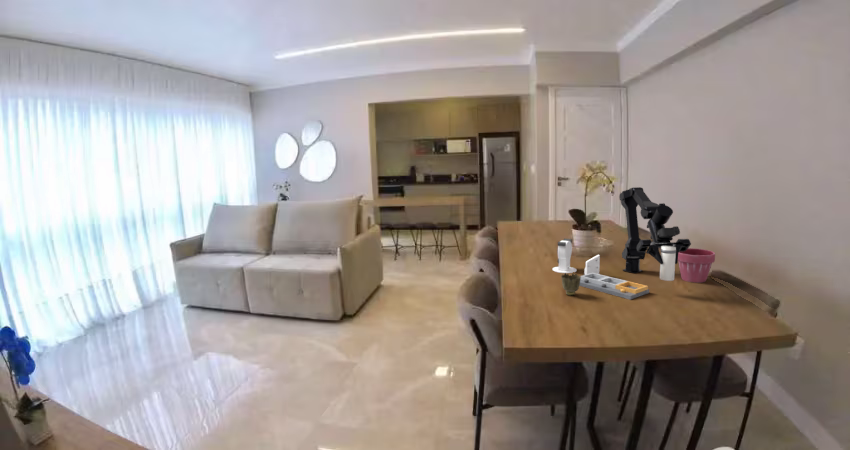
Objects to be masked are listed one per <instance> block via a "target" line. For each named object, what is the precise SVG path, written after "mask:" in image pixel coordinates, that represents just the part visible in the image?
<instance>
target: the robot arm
mask: <svg viewBox="0 0 850 450" xmlns="http://www.w3.org/2000/svg"><path fill="white" fill-rule="evenodd" d="M618 197H619V201H620V205H621V206H622V207H623V208H624V209H625V218H626V229H627V241H625V244H624V248H623V251H622V253H621V258H623V259H624V260H625V268H624V269H622V272H623V271H624V272H628V273H633V274H637V273H640V272H643V269H640V266H641V264H640V263H641V260H645V258H646V254H649V255H650V256H651V257H652V258H653V259H654V260H656V261H657V262H658V263H659V265H660V264H663V260H662V258H661V251H660V250H659V249H661V246H674V247H676V257H675V265H677V264H679V263H678V253H679V252H684V251H686V250H687V249H688V248H690V246H691V245H692V242H691V239H689V238H677V240H676V241H675V242H671V241H673V240H674V239H673V237H676V236H678V235H680V234H681V231H680V230H681V229H680V227H679V226H677V225H676V226H673V227H666V226H665V224H667V223H668V222H669V220H670V218H671V217H672V215H673V213H674V211H673V209H672V208H671V207H670V206H668V205H666V204H665V203H664V202H663V203H659V204H658V203H656V202H653V201H652V200H651V199H650V198H649V197H648V195H647V194H646V192H645V190H644V188H643V187H639V186H638V187H637V186H635V187H631V188H629V189H625V190H623V191H622V192H620V193H619V196H618ZM638 206H639V207H640V212H639V213H640V216H641V217H642V219H643V220H648V221H647V225H646V228H647V229H648V230H649V233H650V239H649V238H648V239H641V237H640V231H639V223H638V222H639V221H638V212H637V210H638V209H637V207H638Z"/></svg>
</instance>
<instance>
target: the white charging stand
mask: <svg viewBox="0 0 850 450" xmlns="http://www.w3.org/2000/svg"><path fill="white" fill-rule="evenodd" d="M572 241H573V239H572V238H563V240H560V241H558V242H557V250H556V251H557V263H558V266H554V267H552V271H554V272H555V273H560V274H565V273H566V274H574V273H576V272H577V268H575V267H571V256H572V252H573V251H572V250H573V242H572ZM573 272H574V273H573Z"/></svg>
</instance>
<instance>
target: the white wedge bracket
mask: <svg viewBox="0 0 850 450" xmlns="http://www.w3.org/2000/svg"><path fill="white" fill-rule="evenodd" d="M600 256H601V255H600V254H596V255H595V256H593V257H592V258H590V259H588V260H586V261H585V267H584V270H583V271H584V272H583V275H586V274H590V273H596V274H600V260H601V257H600Z"/></svg>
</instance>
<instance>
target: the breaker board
mask: <svg viewBox="0 0 850 450" xmlns="http://www.w3.org/2000/svg"><path fill="white" fill-rule="evenodd" d="M580 276H581V278H580V285H579V287H583V288H587V289H591V290H594V291H597V292H601V293H605V294H608V295H613V296H616V297H620V298H622V299H627V300H630V301H631V300H633V299H636V298H638V297H642V296H644V295H647V294H650V289H649V286H648V285H645V284H641V283H636V282H633V281H629V280H625V279H620V278H616V277H611V276H608V275H603V274H600V273H599V274H596V273H590V274H586V275H585V274H583V275H580Z"/></svg>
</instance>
